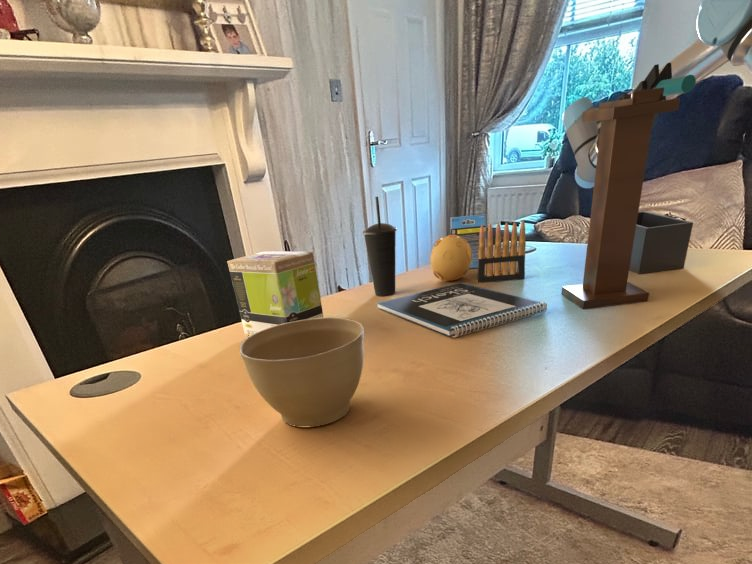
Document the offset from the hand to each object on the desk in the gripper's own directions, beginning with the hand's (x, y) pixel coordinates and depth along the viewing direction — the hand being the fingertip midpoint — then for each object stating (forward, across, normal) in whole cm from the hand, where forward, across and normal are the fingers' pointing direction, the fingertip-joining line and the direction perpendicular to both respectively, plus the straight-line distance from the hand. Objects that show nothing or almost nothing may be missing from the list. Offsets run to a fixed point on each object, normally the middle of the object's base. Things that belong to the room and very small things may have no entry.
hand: (663, 71), depth 105 cm
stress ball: (-20, +42, -29) cm, 55 cm away
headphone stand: (+6, +18, -44) cm, 47 cm away
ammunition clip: (-15, +32, -32) cm, 47 cm away
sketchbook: (+3, +46, -42) cm, 62 cm away
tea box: (+3, +81, -42) cm, 91 cm away
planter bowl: (+39, +73, -63) cm, 104 cm away
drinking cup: (-16, +59, -31) cm, 68 cm away
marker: (0, 0, -5) cm, 5 cm away
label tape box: (-30, +36, -23) cm, 52 cm away
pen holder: (-15, 0, -31) cm, 35 cm away
